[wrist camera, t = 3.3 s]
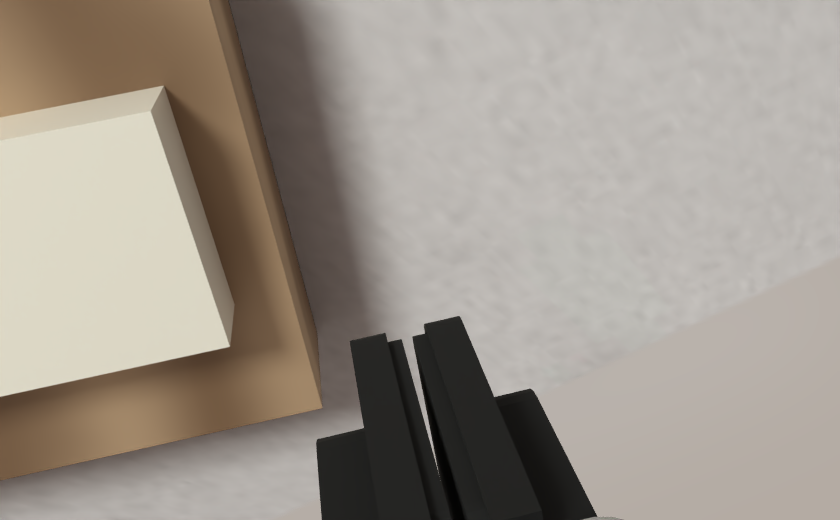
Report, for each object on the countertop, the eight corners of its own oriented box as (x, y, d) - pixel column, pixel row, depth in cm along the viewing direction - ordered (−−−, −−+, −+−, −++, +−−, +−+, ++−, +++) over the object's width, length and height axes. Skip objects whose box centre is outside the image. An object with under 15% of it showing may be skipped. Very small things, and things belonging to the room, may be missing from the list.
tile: (164, 85, 18) (150, 110, 16) (234, 304, 21) (230, 346, 19) (-242, 164, 17) (-302, 200, 15) (-111, 378, 20) (-149, 429, 18)
